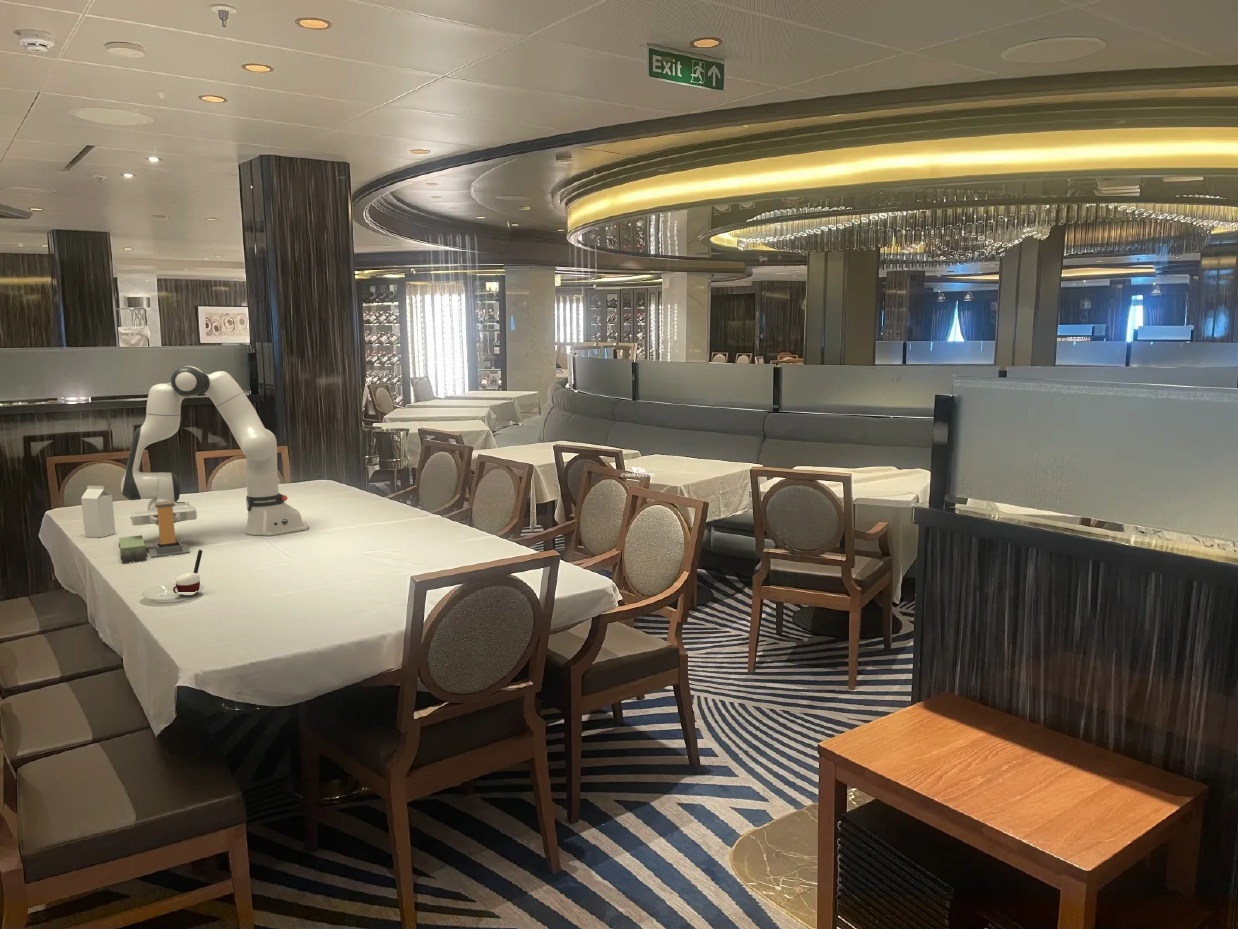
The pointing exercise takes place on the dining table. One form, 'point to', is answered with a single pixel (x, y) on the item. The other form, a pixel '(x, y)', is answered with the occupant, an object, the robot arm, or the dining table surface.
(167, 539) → the orange tall block
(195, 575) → the cocoa
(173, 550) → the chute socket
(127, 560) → the green dark block
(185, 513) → the robot arm
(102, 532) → the milk carton
